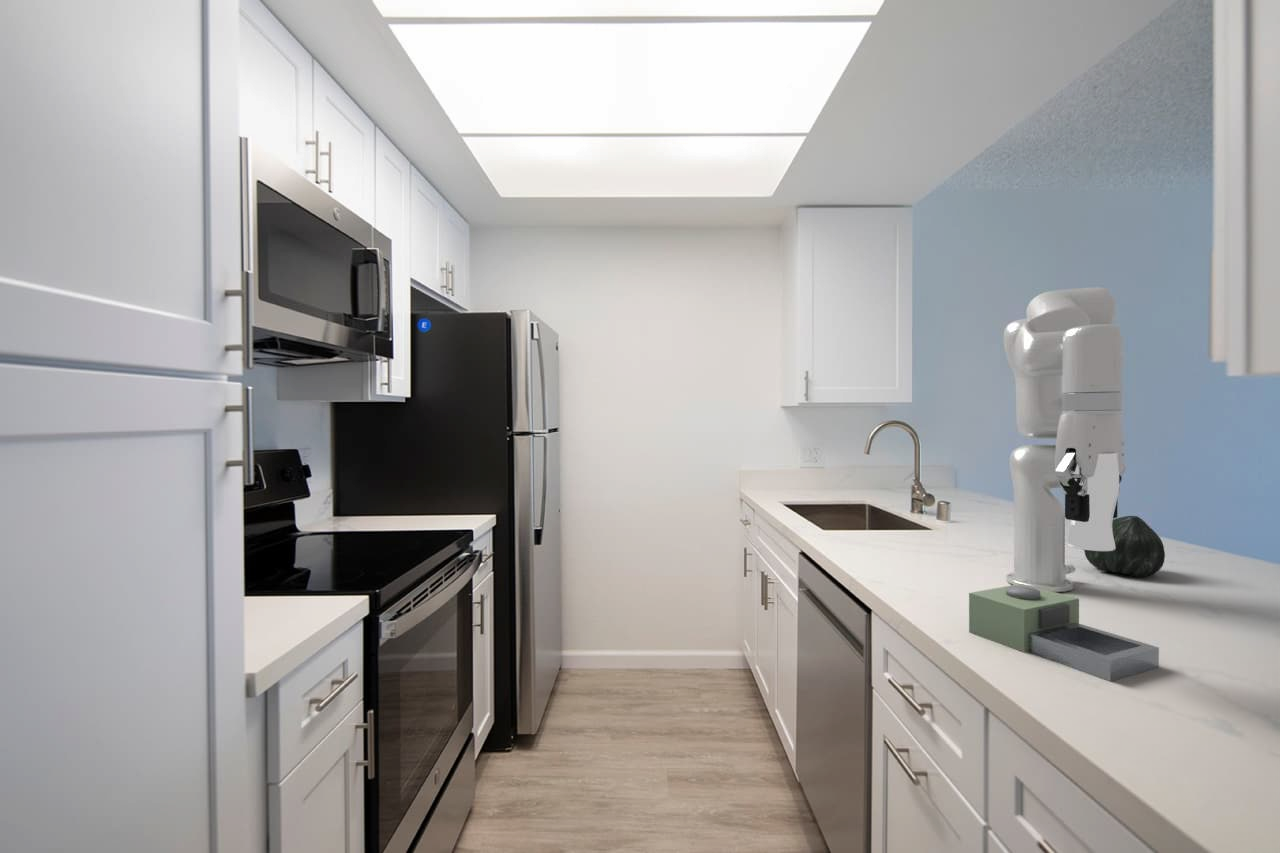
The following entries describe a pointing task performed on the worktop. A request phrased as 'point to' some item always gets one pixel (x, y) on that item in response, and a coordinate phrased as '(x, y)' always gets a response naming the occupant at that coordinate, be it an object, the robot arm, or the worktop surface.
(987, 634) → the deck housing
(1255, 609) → the worktop surface
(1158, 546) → the squash
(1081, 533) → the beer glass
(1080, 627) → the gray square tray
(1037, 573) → the robot arm
